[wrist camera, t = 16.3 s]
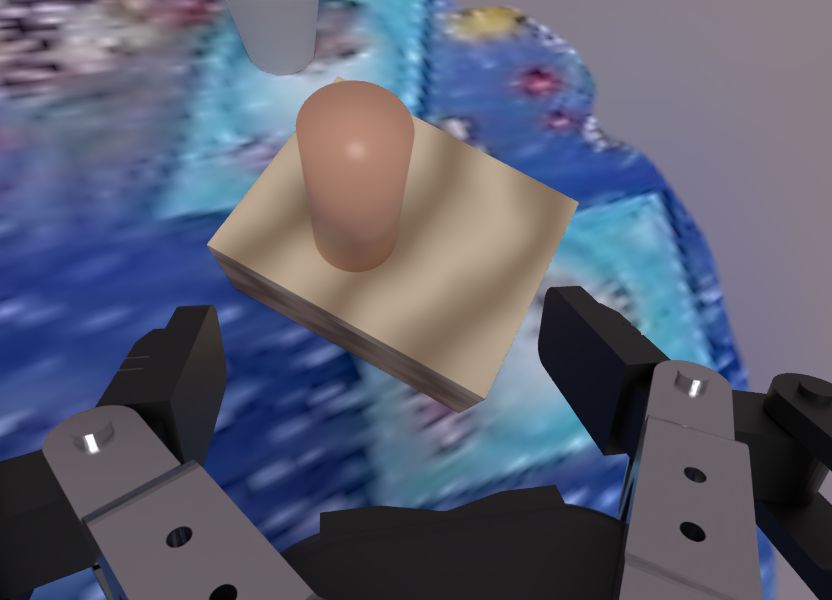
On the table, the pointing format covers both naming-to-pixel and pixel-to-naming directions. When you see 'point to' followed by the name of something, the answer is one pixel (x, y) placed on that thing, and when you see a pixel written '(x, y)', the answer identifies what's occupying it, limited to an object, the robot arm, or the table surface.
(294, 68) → the foam cup
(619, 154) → the table surface
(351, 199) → the tan dome-topped peg
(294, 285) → the wooden stand
